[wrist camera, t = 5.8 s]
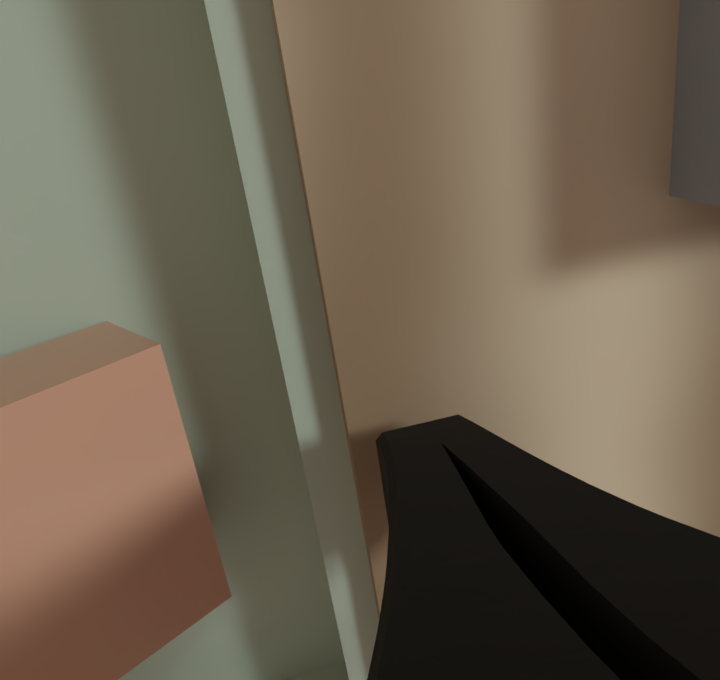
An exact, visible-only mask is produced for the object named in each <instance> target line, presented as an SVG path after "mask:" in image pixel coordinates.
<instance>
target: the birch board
mask: <svg viewBox="0 0 720 680" xmlns="http://www.w3.org/2000/svg"><path fill="white" fill-rule="evenodd" d="M679 2H680V0H270V6H271V11H272V17H273V22H274V28H275V34H276V39H277V45H278V51H279V56H280V62H281V68H282V73H283V79H284V85H285V90H286V96H287V102H288V107H289V113H290V119H291V124H292V130H293V136H294V141H295V147H296V153H297V158H298V164H299V170H300V175H301V181H302V187H303V192H304V198H305V204H306V209H307V215H308V221H309V226H310V232H311V238H312V243H313V249H314V255H315V260H316V266H317V272H318V277H319V283H320V289H321V294H322V300H323V306H324V311H325V317H326V323H327V328H328V334H329V340H330V345H331V351H332V357H333V362H334V368H335V374H336V379H337V385H338V391H339V396H340V402H341V408H342V413H343V419H344V424H345V430H346V436H347V441H348V447H349V453H350V458H351V464H352V470H353V475H354V481H355V487H356V492H357V498H358V504H359V509H360V515H361V521H362V526H363V532H364V538H365V543H366V549H367V555H368V560H369V566H370V572H371V577H372V583H373V589H374V594H375V600H376V606H377V611H378V617H379V618H380V611H381V605H382V599H383V591H384V583H385V575H386V565H387V550H388V534H389V525H388V518H387V512H386V505H385V499H384V492H383V486H382V479H381V472H380V466H379V459H378V453H377V446H376V440H377V438H378V437H379V436H380V434H381V433H382V432H386V431H390V430H394V429H399V428H403V427H407V426H411V425H416V424H420V423H424V422H428V421H433V420H437V419H441V418H445V417H450V416H454V415H460V416H462V417H464V418H466V419H468V420H470V421H472V422H474V423H476V424H478V425H479V426H481V427H483V428H485V429H486V430H488V431H490V432H492V433H494V434H495V435H497V436H499V437H501V438H502V439H504V440H506V441H508V442H510V443H511V444H513V445H515V446H517V447H519V448H520V449H522V450H524V451H526V452H528V453H530V454H532V455H533V456H535V457H537V458H539V459H541V460H543V461H545V462H547V463H548V464H550V465H552V466H554V467H556V468H558V469H560V470H562V471H564V472H566V473H568V474H570V475H572V476H574V477H576V478H578V479H580V480H582V481H584V482H586V483H588V484H590V485H593V486H595V487H597V488H599V489H601V490H604V491H606V492H608V493H610V494H612V495H615V496H617V497H619V498H621V499H623V500H626V501H628V502H630V503H632V504H635V505H637V506H639V507H642V508H644V509H647V510H649V511H651V512H654V513H656V514H659V515H661V516H664V517H666V518H669V519H672V520H675V521H677V522H680V523H683V524H685V525H688V526H691V527H693V528H696V529H699V530H701V531H704V532H707V533H709V534H712V535H715V536H718V537H720V206H715V205H710V204H706V203H701V202H696V201H692V200H687V199H682V198H677V197H673V196H669V189H670V170H671V152H672V133H673V114H674V96H675V77H676V58H677V40H678V21H679Z"/></svg>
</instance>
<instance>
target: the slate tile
mask: <svg viewBox="0 0 720 680" xmlns="http://www.w3.org/2000/svg"><path fill="white" fill-rule="evenodd" d="M669 196H673V197H677V198H682V199H687V200H692V201H696V202H701V203H706V204H710V205H715V206H720V0H680V2H679V21H678V40H677V58H676V77H675V96H674V114H673V133H672V152H671V170H670V189H669Z"/></svg>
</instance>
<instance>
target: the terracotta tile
mask: <svg viewBox="0 0 720 680" xmlns="http://www.w3.org/2000/svg"><path fill="white" fill-rule="evenodd" d="M230 597H232V596H231V592H230V589H229V585H228V582H227V578H226V575H225V571H224V567H223V564H222V560H221V557H220V553H219V550H218V546H217V543H216V539H215V536H214V532H213V528H212V525H211V521H210V518H209V514H208V511H207V507H206V504H205V500H204V497H203V493H202V490H201V486H200V482H199V479H198V475H197V472H196V468H195V465H194V461H193V458H192V454H191V451H190V447H189V443H188V440H187V436H186V433H185V429H184V426H183V422H182V419H181V415H180V412H179V408H178V404H177V401H176V397H175V394H174V390H173V387H172V383H171V380H170V376H169V373H168V369H167V365H166V362H165V358H164V355H163V351H162V348H161V344H159V343H157V342H155V341H152V340H150V339H148V338H145V337H143V336H141V335H138V334H136V333H133V332H131V331H129V330H126V329H124V328H122V327H119V326H117V325H115V324H112V323H110V322H108V321H104V322H101V323H99V324H96V325H93V326H90V327H87V328H84V329H82V330H79V331H76V332H73V333H70V334H67V335H65V336H62V337H59V338H56V339H53V340H50V341H48V342H45V343H42V344H39V345H36V346H33V347H31V348H28V349H25V350H22V351H19V352H16V353H14V354H11V355H8V356H5V357H2V358H0V680H118V679H120V678H121V677H122V676H124V675H125V674H127V673H128V672H129V671H131V670H132V669H133V668H135V667H136V666H137V665H139V664H140V663H142V662H143V661H144V660H146V659H147V658H148V657H150V656H151V655H152V654H154V653H155V652H157V651H158V650H159V649H161V648H162V647H163V646H165V645H166V644H167V643H169V642H170V641H172V640H173V639H174V638H176V637H177V636H178V635H180V634H181V633H182V632H184V631H185V630H187V629H188V628H189V627H191V626H192V625H193V624H195V623H196V622H197V621H199V620H200V619H202V618H203V617H204V616H206V615H207V614H208V613H210V612H211V611H212V610H214V609H215V608H217V607H218V606H219V605H221V604H222V603H223V602H225V601H226V600H228V599H229V598H230Z"/></svg>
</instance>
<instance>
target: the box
mask: <svg viewBox="0 0 720 680" xmlns="http://www.w3.org/2000/svg"><path fill="white" fill-rule="evenodd" d="M104 321H108V322H110V323H112V324H115V325H117V326H119V327H122V328H124V329H126V330H129V331H131V332H133V333H136V334H138V335H141V336H143V337H145V338H148V339H150V340H152V341H155V342H157V343H159V344H161V348H162V351H163V355H164V358H165V362H166V365H167V369H168V373H169V376H170V380H171V383H172V387H173V390H174V394H175V397H176V401H177V404H178V408H179V412H180V415H181V419H182V422H183V426H184V429H185V433H186V436H187V440H188V443H189V447H190V451H191V454H192V458H193V461H194V465H195V468H196V472H197V475H198V479H199V482H200V486H201V490H202V493H203V497H204V500H205V504H206V507H207V511H208V514H209V518H210V521H211V525H212V528H213V532H214V536H215V539H216V543H217V546H218V550H219V553H220V557H221V560H222V564H223V567H224V571H225V575H226V578H227V582H228V585H229V589H230V592H231V596H232V597H230V598H229V599H228V600H226V601H225V602H223V603H222V604H221V605H219V606H218V607H217V608H215V609H214V610H212V611H211V612H210V613H208V614H207V615H206V616H204V617H203V618H202V619H200V620H199V621H197V622H196V623H195V624H193V625H192V626H191V627H189V628H188V629H187V630H185V631H184V632H182V633H181V634H180V635H178V636H177V637H176V638H174V639H173V640H172V641H170V642H169V643H167V644H166V645H165V646H163V647H162V648H161V649H159V650H158V651H157V652H155V653H154V654H152V655H151V656H150V657H148V658H147V659H146V660H144V661H143V662H142V663H140V664H139V665H137V666H136V667H135V668H133V669H132V670H131V671H129V672H128V673H127V674H125V675H124V676H122V677H121V678H120V679H118V680H367V678H368V674H369V669H370V664H371V659H372V654H373V649H374V645H375V640H376V635H377V630H378V624H379V617H378V611H377V606H376V600H375V594H374V589H373V583H372V577H371V572H370V566H369V560H368V555H367V549H366V543H365V538H364V532H363V526H362V521H361V515H360V509H359V504H358V498H357V492H356V487H355V481H354V475H353V470H352V464H351V458H350V453H349V447H348V441H347V436H346V430H345V424H344V419H343V413H342V408H341V402H340V396H339V391H338V385H337V379H336V374H335V368H334V362H333V357H332V351H331V345H330V340H329V334H328V328H327V323H326V317H325V311H324V306H323V300H322V294H321V289H320V283H319V277H318V272H317V266H316V260H315V255H314V249H313V243H312V238H311V232H310V226H309V221H308V215H307V209H306V204H305V198H304V192H303V187H302V181H301V175H300V170H299V164H298V158H297V153H296V147H295V141H294V136H293V130H292V124H291V119H290V113H289V107H288V102H287V96H286V90H285V85H284V79H283V73H282V68H281V62H280V56H279V51H278V45H277V39H276V34H275V28H274V22H273V17H272V11H271V6H270V0H0V358H2V357H5V356H8V355H11V354H14V353H16V352H19V351H22V350H25V349H28V348H31V347H33V346H36V345H39V344H42V343H45V342H48V341H50V340H53V339H56V338H59V337H62V336H65V335H67V334H70V333H73V332H76V331H79V330H82V329H84V328H87V327H90V326H93V325H96V324H99V323H101V322H104Z"/></svg>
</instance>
